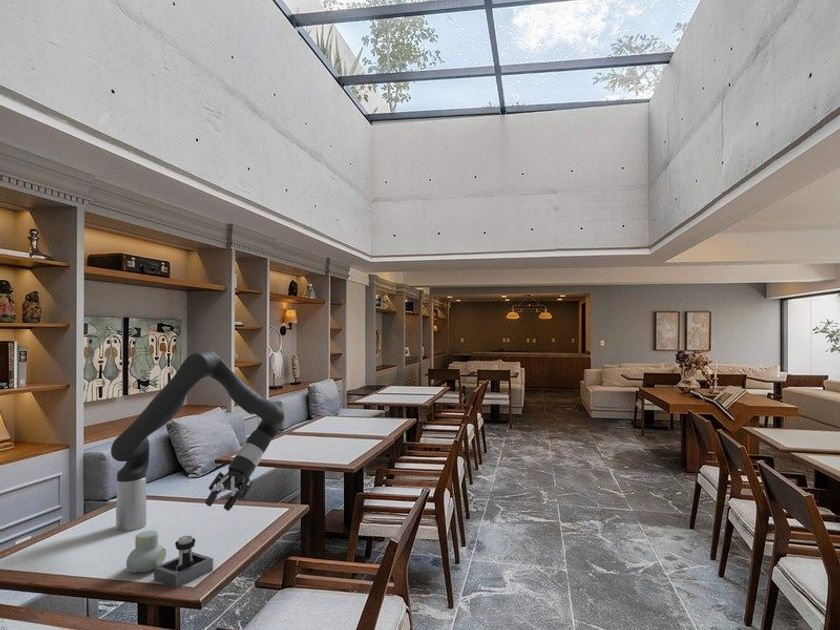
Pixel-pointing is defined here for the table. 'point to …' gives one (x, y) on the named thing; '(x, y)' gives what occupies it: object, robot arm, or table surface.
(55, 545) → the table surface
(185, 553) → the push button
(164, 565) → the square socket
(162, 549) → the air freshener
